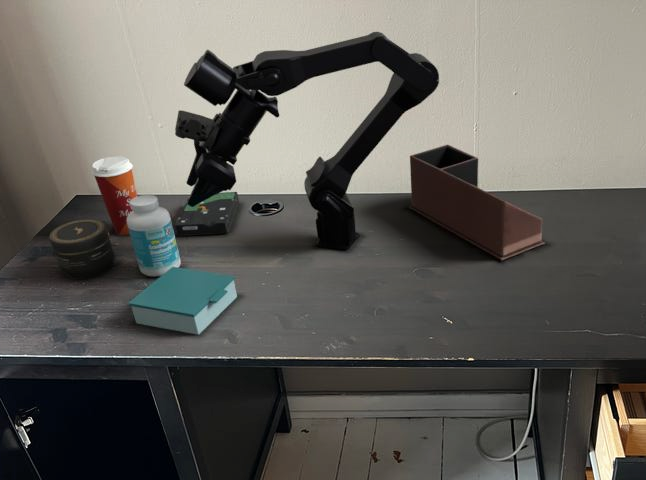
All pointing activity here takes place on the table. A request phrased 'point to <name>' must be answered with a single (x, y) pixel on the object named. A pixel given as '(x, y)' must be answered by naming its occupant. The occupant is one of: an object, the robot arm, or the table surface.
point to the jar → (82, 248)
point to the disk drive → (208, 215)
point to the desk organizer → (469, 204)
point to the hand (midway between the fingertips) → (189, 194)
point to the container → (184, 300)
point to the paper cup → (116, 189)
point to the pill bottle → (152, 236)
